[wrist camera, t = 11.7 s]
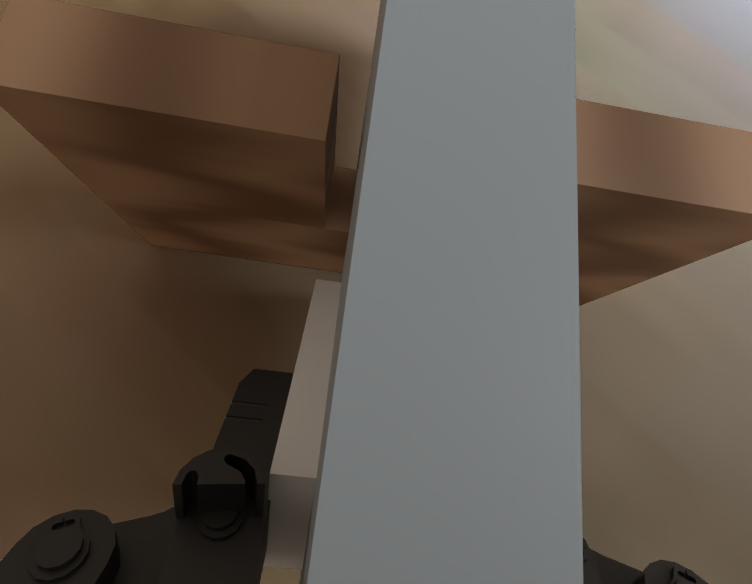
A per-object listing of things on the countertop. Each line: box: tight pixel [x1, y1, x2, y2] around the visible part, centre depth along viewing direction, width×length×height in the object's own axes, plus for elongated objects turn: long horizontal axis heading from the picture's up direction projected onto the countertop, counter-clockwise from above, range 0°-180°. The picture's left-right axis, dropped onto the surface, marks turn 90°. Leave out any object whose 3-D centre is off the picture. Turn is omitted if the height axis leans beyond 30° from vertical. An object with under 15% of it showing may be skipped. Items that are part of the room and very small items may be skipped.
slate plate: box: [299, 0, 583, 584], centre depth 12 cm, size 2×22×12 cm, turn 173°
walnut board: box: [0, 0, 752, 306], centre depth 15 cm, size 20×2×10 cm, turn 83°
